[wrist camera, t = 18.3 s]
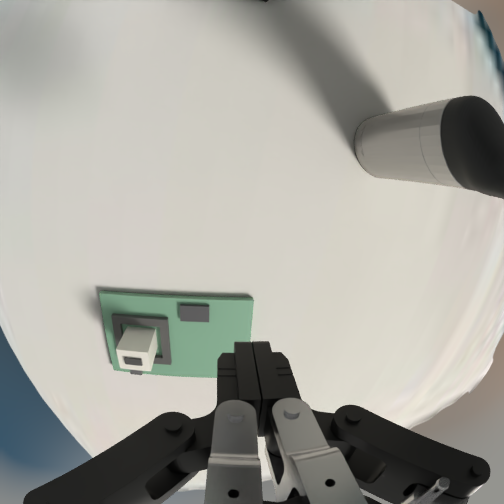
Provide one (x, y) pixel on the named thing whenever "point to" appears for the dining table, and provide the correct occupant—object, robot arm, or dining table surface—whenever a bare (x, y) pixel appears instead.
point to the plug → (137, 349)
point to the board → (179, 328)
